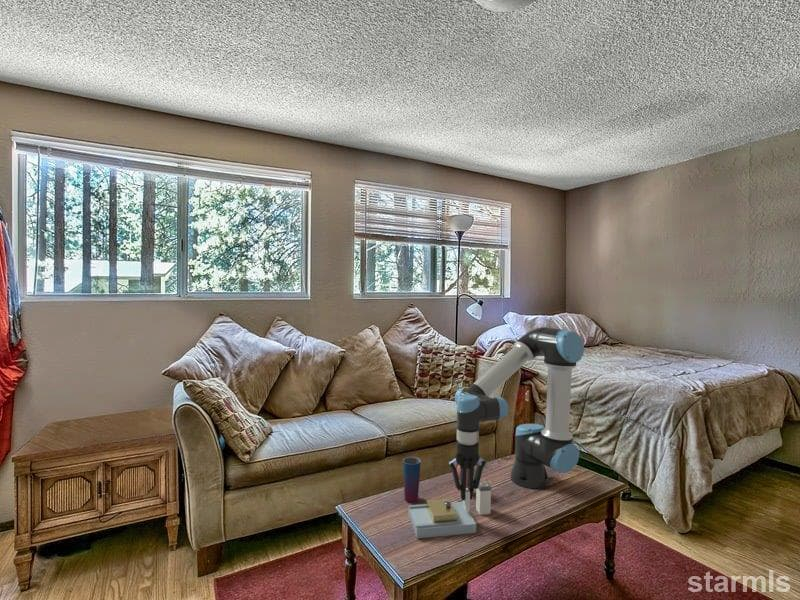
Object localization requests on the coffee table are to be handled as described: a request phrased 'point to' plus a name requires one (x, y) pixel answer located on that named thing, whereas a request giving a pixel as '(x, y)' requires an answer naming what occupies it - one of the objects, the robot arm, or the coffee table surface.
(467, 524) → the socket board
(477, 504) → the plug
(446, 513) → the panel
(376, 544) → the coffee table surface
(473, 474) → the light bulb
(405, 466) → the cup
